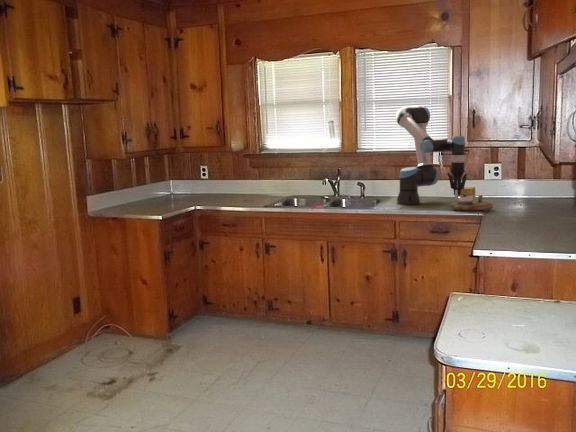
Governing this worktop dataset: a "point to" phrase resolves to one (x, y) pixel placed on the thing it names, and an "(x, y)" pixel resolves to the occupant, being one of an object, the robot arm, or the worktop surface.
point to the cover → (465, 199)
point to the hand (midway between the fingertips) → (457, 200)
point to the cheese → (468, 192)
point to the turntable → (473, 205)
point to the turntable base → (471, 210)
